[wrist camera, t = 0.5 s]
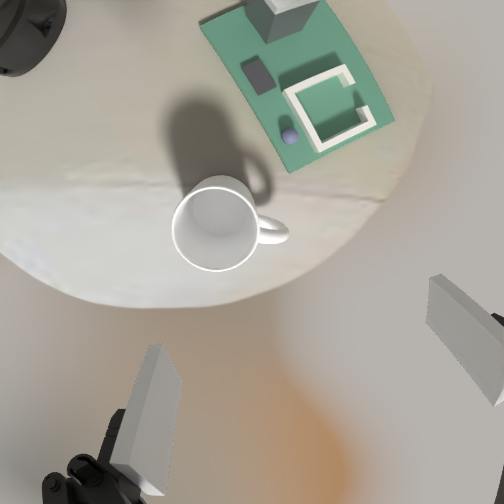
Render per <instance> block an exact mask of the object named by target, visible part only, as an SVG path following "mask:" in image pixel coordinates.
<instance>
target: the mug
mask: <svg viewBox="0 0 504 504" xmlns="http://www.w3.org/2000/svg"><path fill="white" fill-rule="evenodd" d="M262 227H263V228H262ZM266 228H267V229H266ZM171 234H172V239H173V242H174V244H175V247H176V248H177V250H178V252H179V253H180V254H181V256H182V257H183V258H184V259H185V260H186V261H188V262H189V263H190V264H192V265H194V266H195V267H198V268H200V269H203V270H207V271H225V270H229V269H232V268H235V267H237V266H239V265H240V264H242V263H243V262H244V261H246V260H247V259H248V258H249V257H250V256H251V254H252V253H253V251H254V250H255V248H256V246H257V243H265V244H276V243H281V242H284V241H285V240H286V239H287V238H288V236H289V230H288V228H287V227H286V226H285V225H284V224H283V223H281V222H280V221H277V220H275V219H273V218H270V217H267V216H263V215H260V214H257V211H256V206H255V203H254V199H253V197H252V194H251V192H250V191H249V189H248V188H247V187H246V186H245V185H244V184H243V183H242V182H241V181H239V180H237V179H235V178H233V177H230V176H225V175H217V176H212V177H209V178H206V179H204V180H203V181H201V182H200V183H198V184H197V185H196V186H195V187H194V188H193V189H192V190H191V191H190V192H189V193H188V194H187V195H186V196H185V197H184V198H183V199H182V200H181V201H180V203H179V204H178V206H177V207H176V209H175V211H174V214H173V217H172V222H171Z"/></svg>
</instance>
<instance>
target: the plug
mask: <svg viewBox="0 0 504 504" xmlns="http://www.w3.org/2000/svg"><path fill="white" fill-rule="evenodd" d="M319 2H320V0H246V17H247V18H248V19H249V21H250V22H251V23H252V25H253V26H254V28H255V29H256V31H257V32H258V33H259V35H260V36H261V38H262V39H263V41H264V42H265V44H266V45H267V44H269V43H271V42H274V41H276V40H279V39H281V38H284V37H286V36H289V35H291V34H294V33H296V32H299V31H302V29H303V28H304V26H305V24H306V23H307V21H308V19H309V18H310V16H311V15H312V13H313V11H314V10H315V8H316V7H317V5H318V3H319Z"/></svg>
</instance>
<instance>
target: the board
mask: <svg viewBox="0 0 504 504" xmlns="http://www.w3.org/2000/svg"><path fill="white" fill-rule="evenodd" d="M200 29H201V31H202V32H203V33H204V35H205V36H206V38H207V39H208V41H209V42H210V44H211V45H212V47H213V48H214V50H215V51H216V53H217V54H218V56H219V57H220V59H221V60H222V62H223V63H224V65H225V66H226V68H227V69H228V71H229V73H230V74H231V76H232V77H233V79H234V80H235V82H236V84H237V85H238V87H239V88H240V90H241V92H242V93H243V95H244V97H245V98H246V100H247V101H248V103H249V105H250V106H251V108H252V110H253V111H254V113H255V115H256V116H257V118H258V120H259V122H260V123H261V125H262V127H263V128H264V130H265V132H266V134H267V135H268V137H269V139H270V141H271V142H272V144H273V146H274V148H275V149H276V151H277V153H278V155H279V157H280V158H281V160H282V162H283V164H284V166H285V167H286V169H287V171H288V173H292V172H294V171H296V170H297V169H299V168H301V167H303V166H305V165H307V164H309V163H311V162H313V161H315V160H317V159H319V158H320V157H322V156H324V155H326V154H328V153H330V152H332V151H334V150H336V149H338V148H340V147H342V146H344V145H346V144H348V143H350V142H352V141H354V140H356V139H358V138H360V137H362V136H364V135H366V134H369V133H371V132H373V131H375V130H377V129H379V128H381V127H383V126H385V125H387V124H390V123H392V122H394V121H395V119H394V117H393V115H392V113H391V111H390V109H389V106H388V104H387V102H386V100H385V98H384V96H383V94H382V92H381V90H380V88H379V86H378V84H377V82H376V81H375V79H374V77H373V75H372V73H371V71H370V69H369V68H368V66H367V64H366V62H365V61H364V59H363V57H362V55H361V54H360V52H359V50H358V49H357V47H356V45H355V44H354V42H353V41H352V39H351V37H350V36H349V34H348V33H347V31H346V30H345V28H344V27H343V25H342V24H341V22H340V21H339V19H338V18H337V16H336V15H335V14H334V12H333V11H332V9H331V8H330V7H329V5H328V4H327V2H326V1H325V0H320V2H319V3H318V5H317V7H316V8H315V10H314V11H313V13H312V15H311V16H310V18H309V19H308V21H307V23H306V24H305V26H304V28H303V29H302V31H299V32H296V33H294V34H291V35H289V36H286V37H284V38H281V39H279V40H276V41H274V42H271V43H269V44H267V45H266V44H265V42H264V41H263V39H262V38H261V36H260V35H259V33H258V32H257V31H256V29H255V28H254V26H253V25H252V23H251V22H250V21H249V19H248V18H247V17H246V5H244V6H241V7H239V8H237V9H234V10H232V11H230V12H227V13H225V14H223V15H221V16H219V17H217V18H214V19H212V20H210V21H208V22H206V23H204V24H202V25H200ZM343 64H345V65H346V67H347V68H348V70H349V72H350V74H351V75H352V77H353V79H354V81H355V83H354V84H352V85H350V86H347V87H345V88H344V87H343V85H342V84H341V82H340V80H339V78H338V77H337V76H334V77H332V78H329V79H327V80H325V81H322V82H320V83H318V84H315V85H313V86H311V87H309V88H306V89H304V90H302V91H300V92H298V93H295V95H296V97H297V99H298V100H299V102H300V104H301V106H302V107H303V109H304V111H305V113H306V114H307V116H308V118H309V120H310V122H311V124H312V125H313V127H314V129H315V131H316V133H317V135H318V137H319V139H320V140H321V141H323V140H325V139H327V138H329V137H331V136H333V135H335V134H337V133H339V132H341V131H344V130H346V129H348V128H350V127H352V126H354V125H356V124H358V123H360V122H361V120H360V118H359V116H358V114H357V112H356V110H355V109H356V108H359V107H362V106H366V105H368V107H369V110H370V112H371V114H372V116H373V118H374V120H375V122H376V124H377V125H375V126H373V127H371V128H369V129H367V130H364V131H362V132H360V133H358V134H356V135H354V136H352V137H350V138H348V139H346V140H344V141H342V142H340V143H338V144H336V145H334V146H332V147H330V148H328V149H326V150H324V151H322V152H320V153H317V152H314V150H313V148H312V146H311V144H310V143H309V141H308V139H307V137H306V135H305V133H304V131H303V130H302V128H301V126H300V124H299V122H298V121H297V119H296V117H295V115H294V113H293V112H292V110H291V108H290V106H289V105H288V103H287V101H286V100H285V98H284V96H283V95H282V92H283V90H284V89H287V88H289V87H291V86H293V85H295V84H297V83H300V82H302V81H304V80H306V79H309V78H311V77H313V76H316V75H318V74H320V73H323V72H325V71H328V70H330V69H333V68H335V67H338V66H340V65H343Z"/></svg>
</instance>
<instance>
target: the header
mask: <svg viewBox="0 0 504 504" xmlns="http://www.w3.org/2000/svg"><path fill="white" fill-rule="evenodd" d="M334 76H337V77H338V78H339V80H340V82H341V84H342V85H343V87H344V88H345V87H347V86H350V85H352V84H354V83H355V81H354V79H353V77H352V75H351V74H350V72H349V70H348V68H347V67H346V65H345V64H343V65H340V66H338V67H335V68H333V69H330V70H328V71H325V72H323V73H320V74H318V75H316V76H313V77H311V78H309V79H306V80H304V81H302V82H300V83H297V84H295V85H293V86H291V87H289V88H287V89H284V90H283V92H282V95H283V96H284V98H285V100H286V101H287V103H288V105H289V106H290V108H291V110H292V112H293V113H294V115H295V117H296V119H297V121H298V122H299V124H300V126H301V128H302V130H303V131H304V133H305V135H306V137H307V139H308V141H309V143H310V144H311V146H312V148H313V150H314V152H317V153H320V152H322V151H324V150H326V149H328V148H330V147H332V146H334V145H336V144H338V143H340V142H342V141H344V140H346V139H348V138H350V137H352V136H354V135H356V134H358V133H360V132H362V131H364V130H367V129H369V128H371V127H373V126H375V125H377V124H376V122H375V120H374V118H373V116H372V114H371V112H370V110H369V107H368V105H366V106H362V107H359V108H356V109H355V110H356V112H357V114H358V116H359V118H360V120H361V122H360V123H358V124H356V125H354V126H352V127H350V128H348V129H346V130H344V131H341V132H339V133H337V134H335V135H333V136H331V137H329V138H327V139H325V140H323V141H321V140H320V139H319V137H318V135H317V133H316V131H315V129H314V127H313V125H312V124H311V122H310V120H309V118H308V116H307V114H306V113H305V111H304V109H303V107H302V106H301V104H300V102H299V100H298V99H297V97H296V95H295V93H298V92H300V91H302V90H304V89H306V88H309V87H311V86H313V85H315V84H318V83H320V82H322V81H325V80H327V79H329V78H332V77H334Z"/></svg>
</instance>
